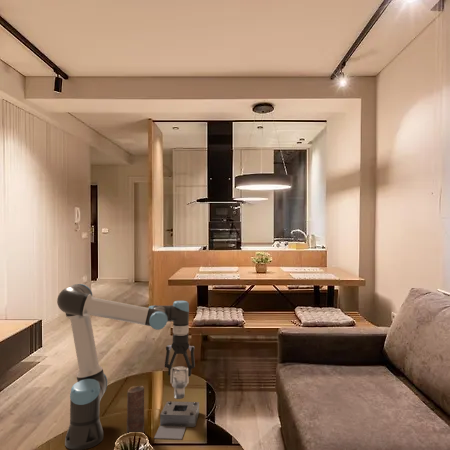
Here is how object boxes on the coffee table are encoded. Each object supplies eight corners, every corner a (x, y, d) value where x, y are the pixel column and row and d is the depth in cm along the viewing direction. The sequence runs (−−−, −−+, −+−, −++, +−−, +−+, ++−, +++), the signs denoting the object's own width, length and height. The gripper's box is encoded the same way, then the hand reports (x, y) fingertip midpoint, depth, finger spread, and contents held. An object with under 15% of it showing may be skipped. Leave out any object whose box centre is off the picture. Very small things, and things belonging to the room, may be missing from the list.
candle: (139, 440, 153) (139, 391, 154) (123, 438, 155) (124, 390, 156) (146, 430, 161) (147, 384, 162) (131, 429, 162) (132, 383, 163)
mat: (153, 438, 154) (153, 437, 154) (159, 426, 164) (159, 426, 164) (181, 439, 153) (181, 438, 153) (185, 427, 163) (185, 426, 163)
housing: (160, 425, 165) (160, 413, 165) (166, 411, 179) (167, 400, 179) (194, 426, 164) (194, 414, 164) (199, 412, 178) (199, 401, 178)
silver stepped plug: (170, 399, 169) (171, 371, 169) (173, 393, 176) (174, 366, 176) (185, 400, 168) (185, 371, 169) (187, 394, 175) (188, 366, 176)
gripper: (158, 335, 170) (157, 384, 169) (200, 336, 169) (199, 386, 168) (162, 331, 178) (160, 378, 177) (202, 332, 177) (201, 380, 175)
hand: (179, 382), depth 172 cm, fingers closed on silver stepped plug, 7 cm apart
